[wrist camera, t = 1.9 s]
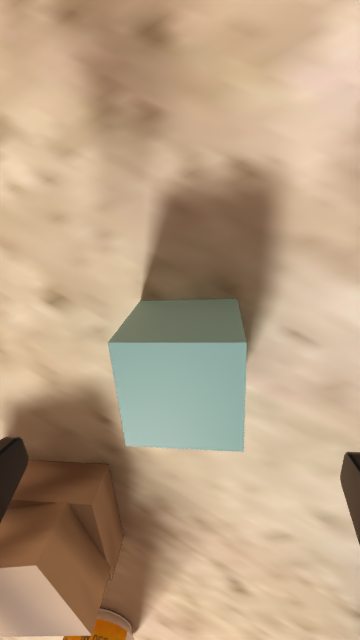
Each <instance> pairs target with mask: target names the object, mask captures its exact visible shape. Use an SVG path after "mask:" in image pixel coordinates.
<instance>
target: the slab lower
mask: <svg viewBox="0 0 360 640" xmlns="http://www.w3.org/2000/svg"><path fill="white" fill-rule="evenodd" d="M66 501H68V503H69V504H70V506H71V507H72V509H73V510H74V512H75V513H76V515H77V516H78V518H79V519H80V521H81V522H82V524H83V525H84V527H85V528H86V530H87V532H88V533H89V535H90V536H91V538H92V539H93V541H94V542H95V544H96V545H97V547H98V548H99V550H100V551H101V553H102V554H103V556H104V557H105V559H106V560H107V562H108V563H109V565H110V566H111V570H110V574H109V577H108V580H112V578H113V574H114V570H115V567H116V563H117V559H118V556H119V552H120V548H121V545H122V541H123V537H124V535H123V530H122V526H121V521H120V516H119V512H118V507H117V502H116V498H115V493H114V488H113V483H112V479H111V474H110V469H109V465H108V464H92V463H73V462H54V461H34V460H28V465H27V468H26V470H25V472H24V474H23V476H22V479H21V481H20V483H19V485H18V487H17V489H16V491H15V494H14V496H13V498H12V500H11V502H10V504H9V507H8V509H14V508H22V507H29V506H37V505H44V504H52V503H59V502H66Z"/></svg>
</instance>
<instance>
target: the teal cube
mask: <svg viewBox="0 0 360 640" xmlns="http://www.w3.org/2000/svg"><path fill="white" fill-rule="evenodd" d="M108 346H109V351H110V357H111V363H112V369H113V375H114V380H115V386H116V392H117V398H118V404H119V410H120V415H121V421H122V427H123V433H124V439H125V445H126V446H136V447H156V448H177V449H197V450H218V451H239V452H243V450H244V418H245V386H246V354H247V341H246V336H245V332H244V327H243V323H242V318H241V313H240V309H239V304H238V300H237V299H191V300H144V301H140V302H139V303H138V305H137V306H136V307H135V308H134V310H133V311H132V312H131V314H130V315H129V316H128V317H127V319H126V320H125V321H124V323H123V324H122V325H121V327H120V328H119V329H118V330H117V332H116V333H115V334H114V336H113V337H112V338H111V339H110V341H109V342H108Z"/></svg>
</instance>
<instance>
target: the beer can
mask: <svg viewBox="0 0 360 640" xmlns="http://www.w3.org/2000/svg"><path fill="white" fill-rule="evenodd" d="M131 631H132V628H131V625H130V623H129V622H128V621H127V620H126V619H125V618H124V617H122V616H121V615H119V614H117V613H115V612H112V611H109V610H106V609H101V608H100V609H99V613H98V616H97V620H96V623H95V627H94V630H93V634H92V636H64V638H63V640H134V637H133V635H132V632H131Z"/></svg>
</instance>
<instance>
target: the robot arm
mask: <svg viewBox="0 0 360 640" xmlns="http://www.w3.org/2000/svg"><path fill="white" fill-rule="evenodd" d="M28 460H29V459H28V454H27V451H26V448H25V445H24V442H23V440H22V439H21V438H20V437H10V436H8V437H5V438H3V439H1V440H0V523H1V521H2V519H3V517H4V515H5V513H6V511H7V509H8V507H9V504H10V502H11V500H12V498H13V496H14V494H15V491H16V489H17V487H18V485H19V483H20V481H21V479H22V476H23V474H24V472H25V470H26V468H27V465H28ZM340 479H341V485H342V488H343V492H344V495H345V498H346V501H347V505H348V508H349V511H350V515H351V518H352V521H353V525H354V528H355V531H356V535H357V538H358V541H359V544H360V452H347V453H346V454H345V455H344V460H343V465H342V470H341V475H340Z"/></svg>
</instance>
